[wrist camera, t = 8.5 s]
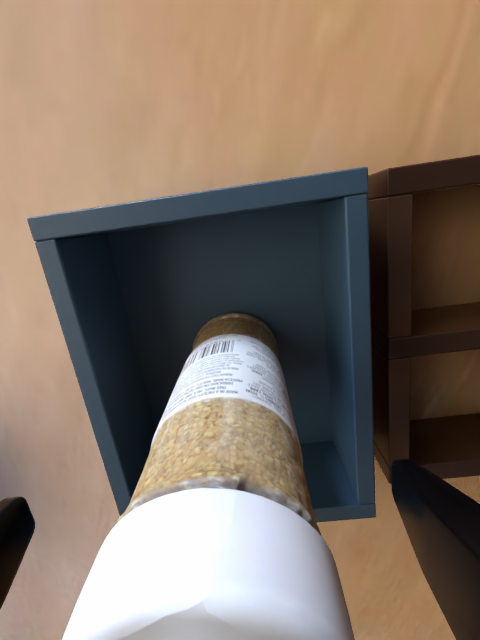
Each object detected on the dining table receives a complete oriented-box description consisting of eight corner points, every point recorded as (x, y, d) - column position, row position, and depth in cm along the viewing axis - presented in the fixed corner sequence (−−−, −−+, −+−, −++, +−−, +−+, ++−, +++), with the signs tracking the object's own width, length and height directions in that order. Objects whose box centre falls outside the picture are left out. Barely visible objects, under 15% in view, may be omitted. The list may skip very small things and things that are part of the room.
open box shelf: (343, 441, 20) (376, 517, 15) (156, 460, 20) (126, 539, 15) (329, 183, 16) (368, 166, 11) (94, 218, 16) (25, 218, 11)
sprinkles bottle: (205, 396, 18) (105, 822, 5) (183, 319, 17) (-23, 638, 4) (286, 380, 18) (390, 798, 5) (269, 300, 16) (348, 585, 4)
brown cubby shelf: (499, 425, 19) (553, 469, 16) (365, 439, 20) (389, 484, 16) (528, 154, 15) (609, 135, 12) (357, 179, 16) (386, 168, 12)
